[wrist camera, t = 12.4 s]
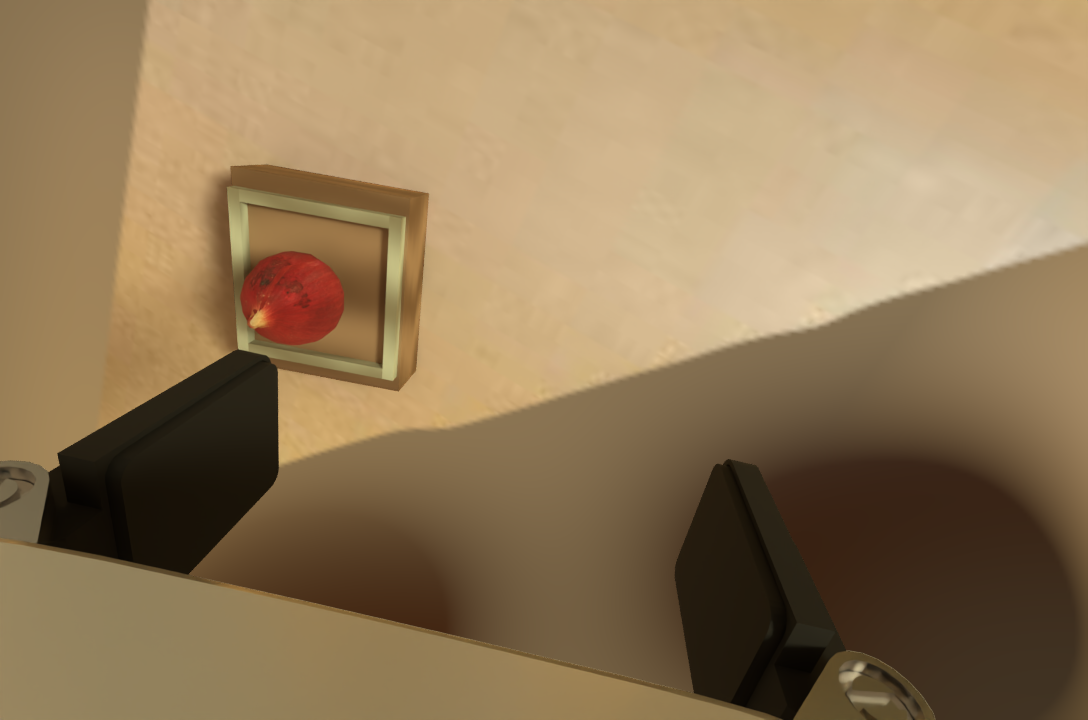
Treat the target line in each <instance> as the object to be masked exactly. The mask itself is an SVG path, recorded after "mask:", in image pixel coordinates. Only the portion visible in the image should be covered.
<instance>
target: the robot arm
mask: <svg viewBox="0 0 1088 720" xmlns="http://www.w3.org/2000/svg"><path fill="white" fill-rule="evenodd" d="M58 459H59V464H60V466H58V467H57V468H55V469H53V470H52V471H50V472H47V470H45V469H44V468H43V467H42V466H40V465H37V464H34V463H31V462H25V461H0V720H936V719H935V717H934V714H933V712H932V710H931V709H930V707H929V706H928V704H927V703H926V701H925V699H924V698H923V696H922V695H921V694H920V693H919V692H918V691H917V690H916V689H915V688H914V687H913V685H912V684H911V683H910V682H909V681H908V680H906V679H905V678H904V677H903V676H902V675H900V674H899V673H898V672H896V671H895V670H894V669H893V668H891V667H890V666H888V665H886V664H885V663H883V662H881V661H880V660H878V659H876V658H873V657H871V656H868V655H866V654H863V653H859V652H853V651H846V649H845V647H844V645H843V643H842V641H841V638H840V636H839V634H838V632H837V630H836V628H835V626H834V624H833V622H832V620H831V617H830V616H829V613H828V611H827V609H826V607H825V605H824V603H823V601H822V599H821V596H820V594H819V592H818V590H817V588H816V586H815V584H814V582H813V580H812V578H811V576H810V573H809V572H808V569H807V567H806V565H805V563H804V561H803V559H802V557H801V555H800V553H799V550H798V548H797V546H796V545H795V543H794V542H793V540H792V538H791V536H790V534H789V532H788V530H787V528H786V526H785V523H784V521H783V519H782V517H781V515H780V513H779V511H778V509H777V506H776V504H775V502H774V500H773V498H772V496H771V494H770V492H769V490H768V487H767V485H766V483H765V482H764V479H763V477H762V475H761V473H760V471H759V469H758V467H757V466H756V465H752V464H748V463H743V462H739V461H735V460H730V459H728V460H726V461H725V462H724V464H723V465H721V464H716V465H715V467H714V468H713V470H712V472H711V475H710V478H709V480H708V483H707V485H706V488H705V490H704V493H703V495H702V498H701V500H700V503H699V506H698V508H697V510H696V513H695V516H694V518H693V521H692V523H691V526H690V528H689V531H688V534H687V536H686V538H685V541H684V543H683V546H682V549H681V551H680V554H679V556H678V559H677V562H676V566H675V581H676V588H677V594H678V599H679V605H680V612H681V617H682V624H683V630H684V636H685V642H686V648H687V654H688V659H689V666H690V672H691V678H692V684H693V690H694V693H691V692H688V691H683V690H679V689H675V688H671V687H666V686H662V685H658V684H653V683H650V682H646V681H642V680H638V679H633V678H630V677H626V676H622V675H618V674H614V673H610V672H606V671H601V670H597V669H593V668H588V667H585V666H580V665H576V664H572V663H568V662H564V661H559V660H555V659H551V658H547V657H542V656H537V655H534V654H530V653H525V652H521V651H517V650H513V649H509V648H504V647H500V646H496V645H492V644H488V643H484V642H479V641H475V640H471V639H466V638H462V637H458V636H454V635H449V634H445V633H441V632H436V631H432V630H428V629H423V628H419V627H415V626H411V625H406V624H402V623H397V622H393V621H389V620H385V619H380V618H376V617H371V616H367V615H363V614H359V613H354V612H350V611H346V610H341V609H337V608H332V607H328V606H324V605H320V604H315V603H311V602H306V601H302V600H297V599H293V598H288V597H285V596H280V595H276V594H271V593H267V592H262V591H258V590H253V589H249V588H244V587H240V586H236V585H231V584H227V583H222V582H218V581H213V580H209V579H205V578H200V577H196V576H191V575H188V574H189V573H190V572H191V571H192V570H193V569H194V568H195V567H196V566H197V565H198V564H199V563H200V562H201V561H202V559H203V558H204V557H205V556H206V555H207V554H208V553H209V552H210V551H211V550H212V549H213V548H214V547H215V546H216V545H217V544H218V542H219V541H220V540H221V539H222V538H223V537H224V536H225V535H226V534H227V533H228V532H229V531H230V530H231V529H232V528H233V526H235V525H236V523H237V522H238V521H239V520H240V519H241V518H242V517H243V516H244V515H245V514H246V513H247V512H248V511H249V510H250V509H251V508H252V507H253V505H255V503H256V502H257V501H258V500H259V499H260V498H261V497H262V496H263V495H264V494H265V493H266V492H267V491H268V490H269V488H271V486H272V485H273V484H274V482H275V480H276V478H277V475H278V469H279V454H278V371H277V367H276V365H274V364H271V361H270V358H269V357H268V356H267V355H262V354H258V353H253V352H249V351H244V350H239V349H238V350H235V351H233V352H232V353H230V354H228V355H226V356H225V357H223V358H221V359H219V360H218V361H216V362H214V363H213V364H211V365H209V366H207V367H206V368H204V369H202V370H201V371H199V372H197V373H195V374H194V375H192V376H190V377H188V378H187V379H185V380H183V381H182V382H180V383H178V384H176V385H175V386H173V387H171V388H169V389H168V390H166V391H164V392H163V393H161V394H159V395H157V396H156V397H154V398H152V399H150V400H149V401H147V402H145V403H144V404H142V405H140V406H138V407H137V408H135V409H133V410H131V411H130V412H128V413H126V414H125V415H123V416H121V417H119V418H118V419H116V420H114V421H112V422H111V423H109V424H107V425H106V426H104V427H102V428H100V429H99V430H97V431H95V432H93V433H92V434H90V435H88V436H87V437H85V438H83V439H81V440H80V441H78V442H76V443H75V444H73V445H71V446H69V447H68V448H66V449H64V450H63V451H61V452H59V453H58Z"/></svg>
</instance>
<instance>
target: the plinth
mask: <svg viewBox="0 0 1088 720" xmlns="http://www.w3.org/2000/svg"><path fill="white" fill-rule="evenodd" d="M231 181H232V186H229V187H227V197H228V212H229V226H230V241H231V255H232V269H233V284H234V298H235V312H236V327H237V341H238V349H239V350H244V351H249V352H253V353H258V354H262V355H267V356H268V357H269V358H270V361H271V364H274V365H276V367H277V368H279V369H284V370H289V371H295V372H300V373H305V374H310V375H316V376H321V377H326V378H331V379H336V380H342V381H347V382H352V383H357V384H363V385H368V386H373V387H378V388H383V389H389V390H394V391H399V390H400V389H401V388H402V387H403V385H404V384H405V383H406V382H407V381H408V379H409V378H410V377H411V376H412V375H413V373H414V372H415V371H416V363H417V349H418V335H419V321H420V308H421V294H422V280H423V266H424V253H425V239H426V225H427V211H428V197H429V194H428V193H423V192H417V191H411V190H406V189H400V188H395V187H389V186H383V185H378V184H372V183H367V182H361V181H355V180H350V179H344V178H339V177H333V176H328V175H322V174H316V173H311V172H305V171H300V170H294V169H288V168H283V167H277V166H272V165H247V166H231ZM286 251H295V252H301V253H307V254H311V255H313V256H314V257H316V258H318V259H319V260H321V261H322V262H324V263H325V264H327V265H328V266H330V267H331V269H332V270H333V271H334V273H335V274H336V275H337V277H338V278H339V279H340V282H341V285H342V288H343V291H344V311H343V313H342V316H341V318H340V320H339V322H338V324H337V326H336V328H335V329H334V330H332V331H331V332H330V333H329V334H327V335H326V336H325V337H324V338H322V339H320V340H318V341H316V342H312V343H307V344H303V345H286V344H280V343H276V342H273V341H271V340H269V339H267V338H265V337H263V336H261V335H260V334H258V333H257V332H256V331H255V330H254V329H252V328H250V327H249V326H248V325H247V320H246V318H245V316H244V314H243V312H242V306H241V300H240V294H241V291H242V287H243V283H244V280H245V278H246V277H247V275H248V274H249V273H250V272H251V271H252V270H253V269H254V267H255V266H256V265H257V264H258V263H259V261H261V260H263V259H265V258H267V257H269V256H272V255H275V254H278V253H281V252H286Z"/></svg>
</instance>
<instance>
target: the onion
mask: <svg viewBox="0 0 1088 720" xmlns="http://www.w3.org/2000/svg"><path fill="white" fill-rule="evenodd" d="M240 300H241V306H242V312H243V314H244V316H245V318H246V320H247V325H248V326H249V327H250V328H252V329H254V330H255V331H256V332H257V333H258V334H260V335H261V336H263V337H265V338H267V339H269V340H271V341H273V342H276V343H280V344H286V345H303V344H307V343H312V342H316V341H318V340H320V339H322V338H324V337H325V336H326V335H327V334H329V333H330V332H331V331H332V330H334V329H335V328H336V326H337V324H338V322H339V320H340V318H341V316H342V313H343V311H344V291H343V288H342V285H341V282H340V279H339V278H338V277H337V275H336V274H335V273H334V271H333V270H332V269H331V267H330V266H328V265H327V264H325V263H324V262H322V261H321V260H319V259H318V258H316V257H314V256H313V255H311V254H307V253H301V252H295V251H286V252H281V253H278V254H275V255H272V256H269V257H267V258H265V259H263V260H261V261H259V263H258V264H257V265H256V266H255V267H254V269H253V270H252V271H251V272H250V273H249V274H248V275H247V277H246V278H245V280H244V283H243V287H242V291H241V294H240Z"/></svg>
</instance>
